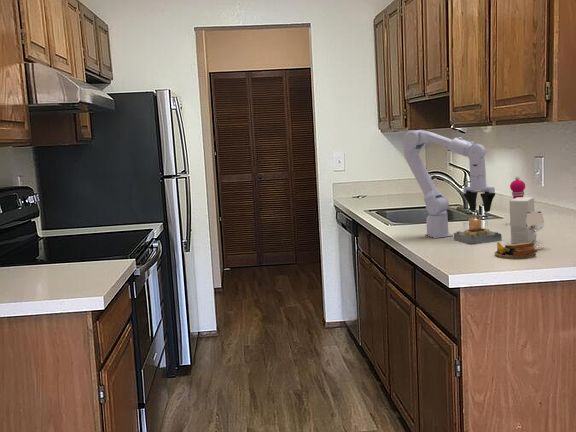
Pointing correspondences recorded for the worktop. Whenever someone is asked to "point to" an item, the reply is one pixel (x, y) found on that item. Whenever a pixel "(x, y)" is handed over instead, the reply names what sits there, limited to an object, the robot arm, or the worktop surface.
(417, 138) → the robot arm
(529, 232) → the skincare box
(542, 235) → the worktop surface
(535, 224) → the wineglass
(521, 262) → the worktop surface
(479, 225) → the copper spout can
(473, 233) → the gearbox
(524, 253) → the toy sandwich meal
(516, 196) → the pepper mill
